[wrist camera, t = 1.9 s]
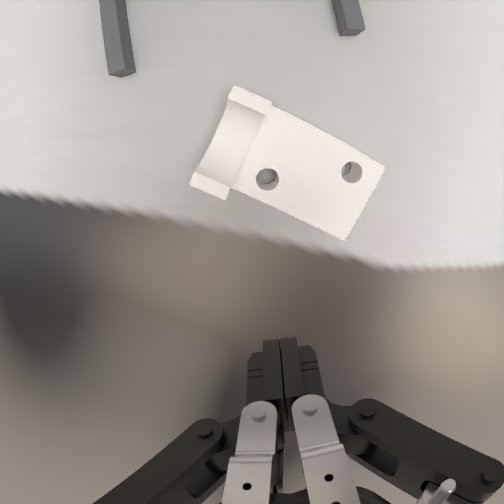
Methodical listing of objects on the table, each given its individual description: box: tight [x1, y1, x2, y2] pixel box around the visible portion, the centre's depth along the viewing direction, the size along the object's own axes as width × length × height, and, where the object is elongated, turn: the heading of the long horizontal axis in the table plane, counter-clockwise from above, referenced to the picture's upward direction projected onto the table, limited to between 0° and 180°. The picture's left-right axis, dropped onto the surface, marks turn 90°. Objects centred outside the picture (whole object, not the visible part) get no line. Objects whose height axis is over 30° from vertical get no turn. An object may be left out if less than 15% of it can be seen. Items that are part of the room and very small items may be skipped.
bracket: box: [189, 85, 386, 241], centre depth 24 cm, size 13×7×8 cm, turn 65°
